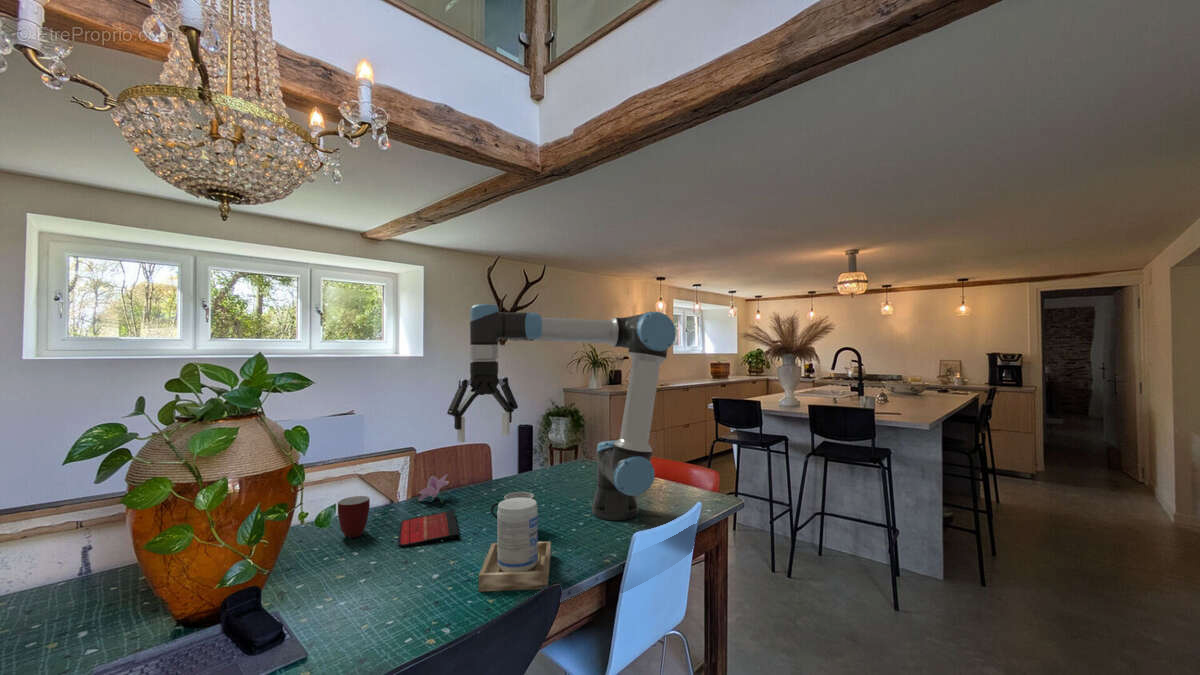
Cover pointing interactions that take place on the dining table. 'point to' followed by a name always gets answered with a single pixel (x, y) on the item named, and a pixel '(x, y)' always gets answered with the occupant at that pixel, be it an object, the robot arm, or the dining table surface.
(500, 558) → the supplement tub
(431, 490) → the lily
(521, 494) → the coffee mug
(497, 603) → the dining table surface
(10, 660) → the dining table surface
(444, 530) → the red book
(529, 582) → the slatted wooden tray
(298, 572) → the dining table surface
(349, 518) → the mug
